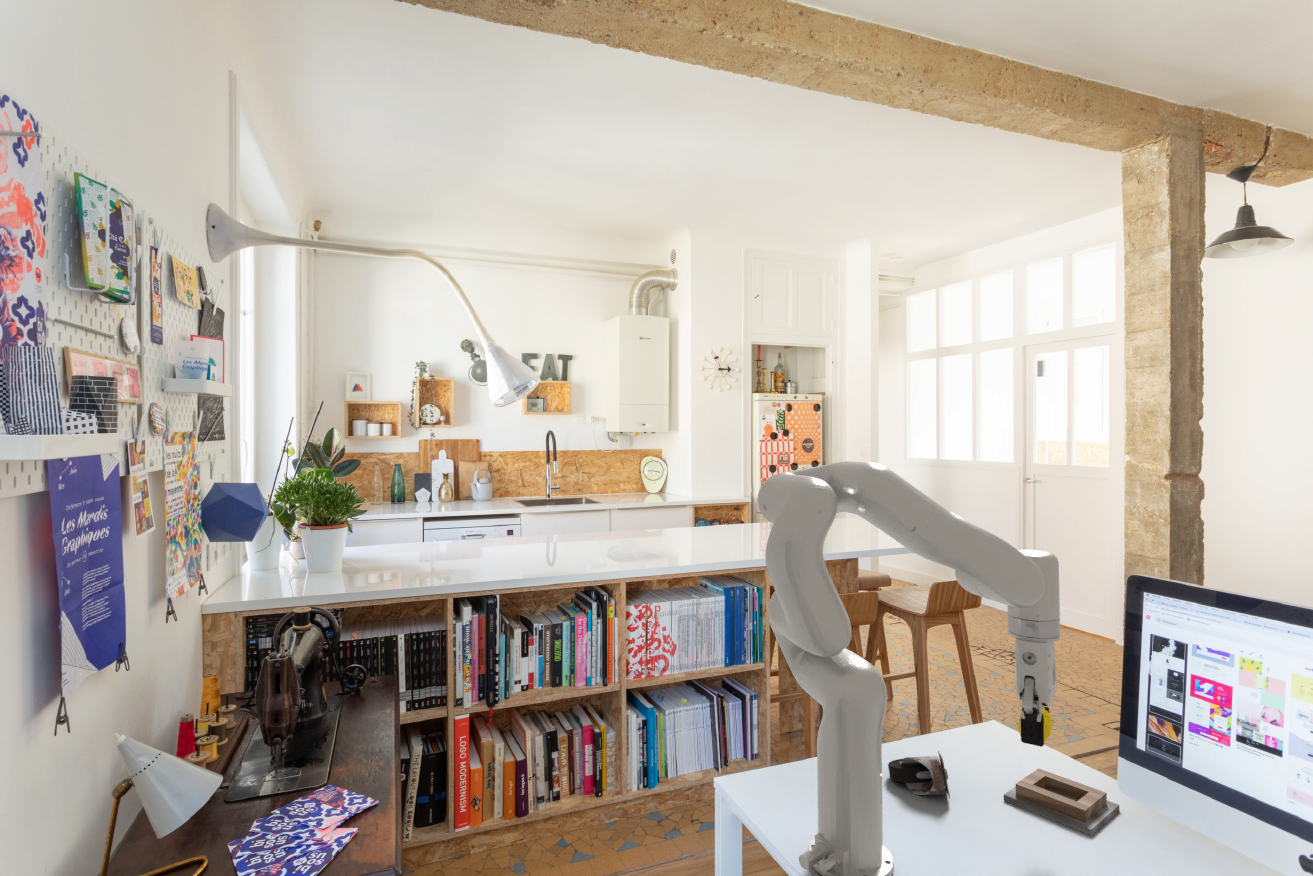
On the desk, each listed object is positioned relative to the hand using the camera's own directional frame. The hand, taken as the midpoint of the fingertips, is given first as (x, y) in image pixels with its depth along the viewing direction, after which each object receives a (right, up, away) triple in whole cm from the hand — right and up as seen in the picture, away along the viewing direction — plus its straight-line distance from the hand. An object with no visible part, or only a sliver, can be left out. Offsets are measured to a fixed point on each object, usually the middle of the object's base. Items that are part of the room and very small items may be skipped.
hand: (1035, 735), depth 112 cm
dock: (+9, -16, +8) cm, 19 cm away
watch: (0, -1, 0) cm, 1 cm away
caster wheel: (-14, -16, +15) cm, 26 cm away
